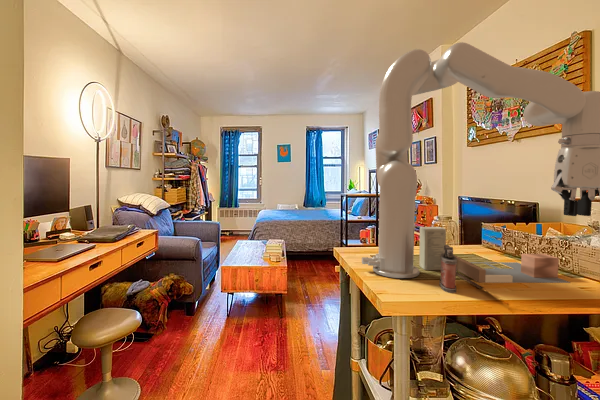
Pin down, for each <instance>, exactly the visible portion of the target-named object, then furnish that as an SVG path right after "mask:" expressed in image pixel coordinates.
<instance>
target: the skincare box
mask: <svg viewBox="0 0 600 400" xmlns="http://www.w3.org/2000/svg"><path fill="white" fill-rule="evenodd" d="M446 242H447V229H446V228H443V227H440V226H419V249H418V250H419V253H418V254H419V255H418V256H419V261H418V266H419V267H420V268H421V269H423V270H424V271H441V259H440V254H441V253H444V245H447V244H446Z"/></svg>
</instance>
